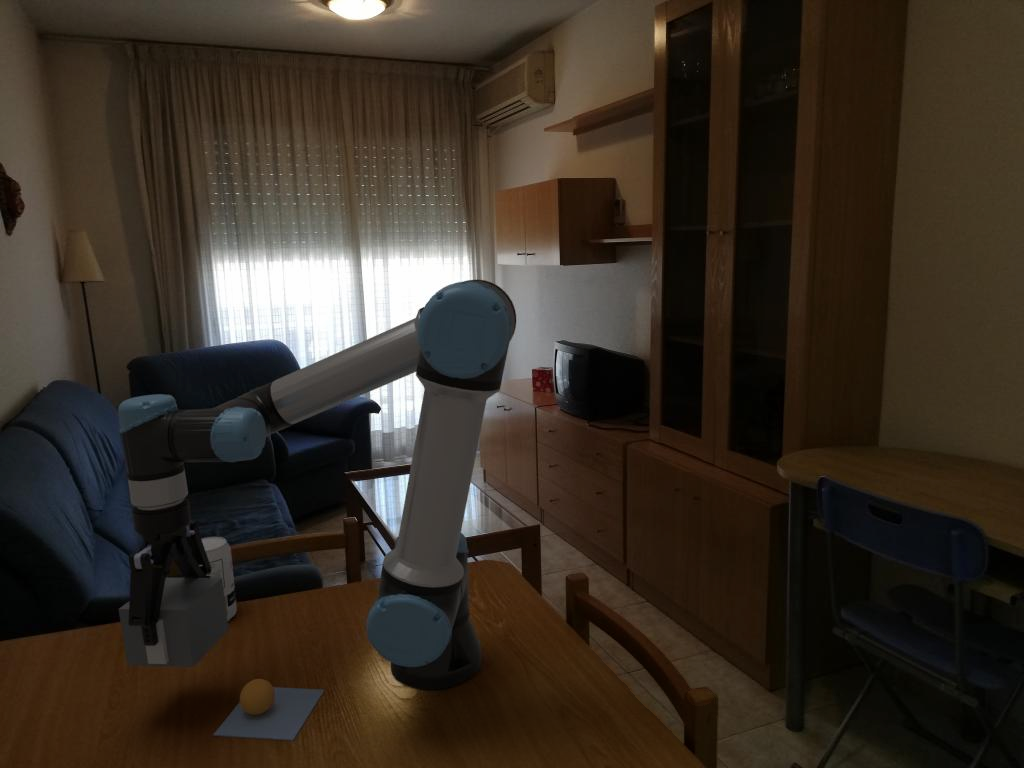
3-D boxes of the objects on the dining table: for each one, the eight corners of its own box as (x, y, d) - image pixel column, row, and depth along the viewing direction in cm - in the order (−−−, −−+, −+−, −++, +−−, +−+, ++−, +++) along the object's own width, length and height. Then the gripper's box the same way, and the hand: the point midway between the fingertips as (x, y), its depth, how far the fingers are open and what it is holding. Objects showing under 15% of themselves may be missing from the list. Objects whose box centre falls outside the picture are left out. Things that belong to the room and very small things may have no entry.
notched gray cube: (228, 630, 115) (221, 578, 113) (193, 667, 105) (185, 609, 103) (168, 629, 116) (160, 577, 114) (127, 665, 106) (118, 609, 104)
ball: (261, 666, 112) (243, 687, 113) (246, 685, 107) (227, 706, 108) (286, 687, 112) (267, 707, 113) (272, 707, 107) (252, 728, 108)
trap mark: (324, 690, 116) (324, 689, 116) (293, 740, 104) (293, 739, 104) (252, 687, 117) (252, 686, 117) (213, 736, 105) (213, 734, 105)
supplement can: (181, 624, 138) (172, 548, 135) (215, 604, 145) (208, 533, 142) (212, 632, 134) (204, 555, 132) (246, 612, 142) (239, 539, 139)
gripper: (180, 477, 118) (197, 605, 122) (82, 531, 96) (107, 686, 100) (224, 477, 117) (240, 606, 121) (135, 531, 95) (158, 687, 99)
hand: (180, 642), depth 110 cm, fingers closed on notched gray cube, 10 cm apart
